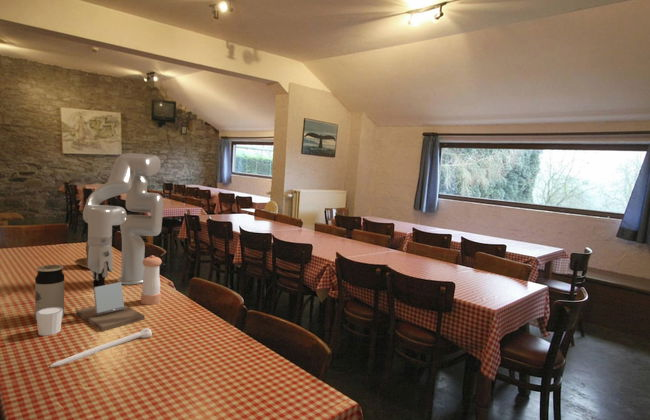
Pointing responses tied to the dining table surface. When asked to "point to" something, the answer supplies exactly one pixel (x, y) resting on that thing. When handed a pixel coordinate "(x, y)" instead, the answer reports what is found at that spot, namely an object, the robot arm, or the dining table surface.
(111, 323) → the board
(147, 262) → the salt shaker
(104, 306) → the tile
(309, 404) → the dining table surface
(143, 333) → the white nail
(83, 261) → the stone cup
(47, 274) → the travel mug
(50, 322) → the white cup
